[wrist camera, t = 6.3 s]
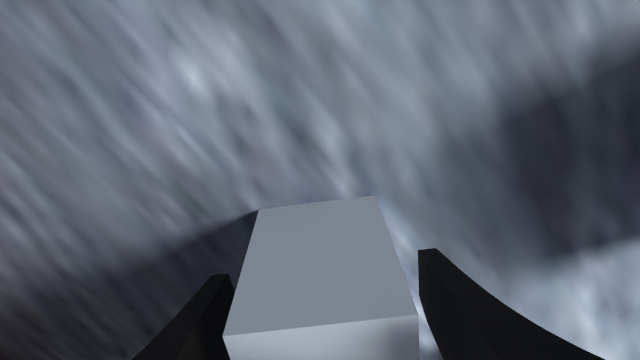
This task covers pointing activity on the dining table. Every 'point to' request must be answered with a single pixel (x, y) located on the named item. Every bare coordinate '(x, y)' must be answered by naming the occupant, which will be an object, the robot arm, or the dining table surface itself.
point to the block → (322, 287)
